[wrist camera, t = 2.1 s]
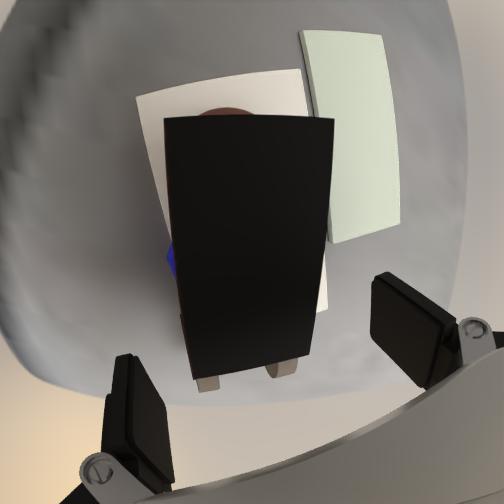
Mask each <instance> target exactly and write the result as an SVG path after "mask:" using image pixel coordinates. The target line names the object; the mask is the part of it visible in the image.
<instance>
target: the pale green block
mask: <svg viewBox="0 0 504 504" xmlns="http://www.w3.org/2000/svg"><path fill="white" fill-rule="evenodd" d="M299 35H300V39H301V44H302V49H303V54H304V59H305V64H306V69H307V74H308V80H309V85H310V91H311V97H312V103H313V109H314V115H315V117H323V118H334V119H335V127H334V147H333V163H332V177H331V190H330V202H329V213H328V235H329V241H330V242H331V243H332V244H335V243H339V242H342V241H345V240H349V239H352V238H355V237H358V236H362V235H365V234H368V233H372V232H375V231H378V230H381V229H385V228H388V227H391V226H394V225H398V224H400V183H399V161H398V146H397V134H396V124H395V114H394V106H393V98H392V91H391V85H390V78H389V72H388V67H387V61H386V56H385V51H384V46H383V41H382V37H381V35H375V34H366V33H356V32H344V31H325V30H302V31H301V32H299Z"/></svg>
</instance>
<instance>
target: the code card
mask: <svg viewBox="0 0 504 504" xmlns="http://www.w3.org/2000/svg"><path fill="white" fill-rule="evenodd" d="M136 102H137V106H138V111H139V116H140V121H141V125H142V130H143V134H144V139H145V143H146V148H147V152H148V156H149V160H150V164H151V168H152V172H153V176H154V180H155V184H156V188H157V192H158V195H159V199H160V203H161V207H162V210H163V214H164V217H165V221H166V224H167V228H168V231H169V235H170V238H171V229H170V218H169V207H168V195H167V181H166V166H165V147H164V121H163V118H169V117H182V116H198V115H200V114H202V113H204V112H206V111H209V110H212V109H216V108H223V107H232V108H238V109H243V110H246V111H248V112H251V113H253V114H264V115H293V116H308V111H307V104H306V99H305V93H304V87H303V82H302V76H301V71H300V69H289V70H276V71H266V72H257V73H249V74H241V75H234V76H228V77H222V78H216V79H210V80H205V81H199V82H194V83H190V84H185V85H180V86H176V87H172V88H167V89H163V90H159V91H155V92H152V93H148V94H144V95H141V96H137V97H136ZM171 242H172V238H171ZM326 309H328V302H327V283H326V268H325V254H324V259H323V267H322V274H321V282H320V289H319V296H318V303H317V310H316V313H317V312H320V311H323V310H326Z"/></svg>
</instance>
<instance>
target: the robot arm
mask: <svg viewBox="0 0 504 504" xmlns="http://www.w3.org/2000/svg"><path fill="white" fill-rule="evenodd" d="M370 335H371V338H372V339H373V341H374V342H375V343H376V344H377V345H378V346H379V347H380V348H381V349H382V350H383V351H384V352H385V353H386V354H387V355H388V356H389V357H390V358H391V359H392V360H393V361H394V362H395V363H396V364H397V365H398V366H399V367H400V368H401V369H402V370H403V371H404V372H405V373H406V374H407V375H408V376H409V377H410V378H411V380H412V381H413V382H414V383H415V384H416V385H417V386H418V387H420V388H422V387H423V388H424V389H425V390H426V391H425V392H424V393H422V394H421V395H419V396H418V397H416V398H414V399H413V400H411V401H409V402H408V403H406V404H404V405H403V406H401V407H399V408H397V409H396V410H394V411H392V412H390V413H389V414H387V415H385V416H383V417H382V418H379V419H378V420H376V421H374V422H372V423H370V424H368V425H366V426H364V427H362V428H360V429H358V430H357V431H354V432H352V433H350V434H348V435H346V436H343V437H341V438H339V439H337V440H335V441H332V442H330V443H328V444H326V445H323V446H321V447H319V448H316V449H314V450H311V451H309V452H306V453H303V454H301V455H298V456H296V457H293V458H290V459H287V460H285V461H282V462H279V463H276V464H273V465H270V466H267V467H264V468H261V469H258V470H254V471H251V472H248V473H244V474H240V475H237V476H233V477H230V478H226V479H222V480H218V481H214V482H210V483H205V484H201V485H197V486H192V487H188V488H183V489H178V490H174V491H172V488H171V484H172V483H175V478H174V470H173V464H172V456H171V448H170V440H169V432H168V422H167V411H166V407H165V404H164V402H163V400H162V398H161V397H160V395H159V393H158V392H157V390H156V388H155V387H154V385H153V383H152V381H151V380H150V378H149V376H148V374H147V372H146V371H145V369H144V367H143V365H142V363H141V361H140V359H139V358H138V356H134V357H133V355H132V354H131V353H129V354H125V355H121V356H117V357H116V359H115V366H114V374H113V382H112V390H111V394H108V395H107V396H106V399H105V408H104V418H103V428H102V441H101V452H98V453H94V454H91V455H90V456H88V457H87V458H86V459H85V460H84V461H83V462H82V464H81V466H80V471H79V475H80V479H81V481H82V483H81V484H80V485H79V486H78V487H76V488H75V489H74V490H73V491H72V492H71V493H70V494H69V495H68V496H67V497H66V498H65V499H64V500H63V501H62V502H61V503H59V504H504V332H495V331H492V330H491V327H490V326H489V324H488V323H487V322H486V321H484V320H483V319H480V318H476V317H469V318H466V319H463V320H462V321H461V322H460V323H459V325H458V324H457V323H456V318H455V317H454V316H452V315H451V314H450V313H448V312H447V311H445V310H444V309H443V308H441V307H440V306H438V305H437V304H435V303H434V302H433V301H431V300H430V299H428V298H427V297H425V296H424V295H423V294H421V293H420V292H418V291H417V290H415V289H414V288H412V287H411V286H409V285H408V284H406V283H405V282H403V281H402V280H400V279H399V278H397V277H396V276H394V275H393V274H391V273H390V272H384V273H382V274H379V275H377V276H375V278H374V281H372V284H371V319H370ZM163 492H164V493H163Z"/></svg>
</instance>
